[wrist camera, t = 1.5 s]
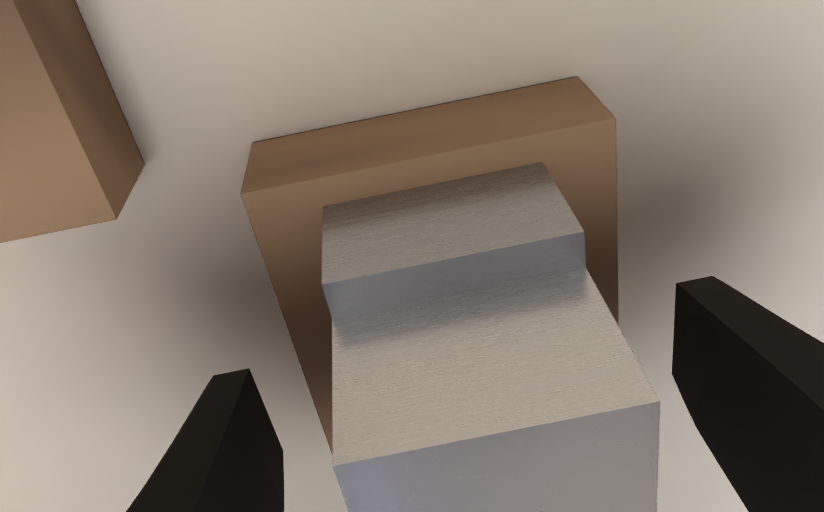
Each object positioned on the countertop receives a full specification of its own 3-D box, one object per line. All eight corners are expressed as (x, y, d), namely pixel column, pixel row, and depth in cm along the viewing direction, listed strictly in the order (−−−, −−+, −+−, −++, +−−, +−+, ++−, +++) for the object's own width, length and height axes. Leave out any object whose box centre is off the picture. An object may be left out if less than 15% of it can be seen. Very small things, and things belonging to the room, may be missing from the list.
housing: (562, 419, 14) (651, 655, 10) (392, 454, 15) (416, 700, 11) (542, 161, 11) (661, 359, 7) (323, 206, 11) (319, 427, 7)
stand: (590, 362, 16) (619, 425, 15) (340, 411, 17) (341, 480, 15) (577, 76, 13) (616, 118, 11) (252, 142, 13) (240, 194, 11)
